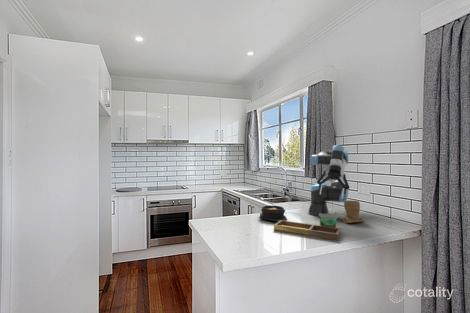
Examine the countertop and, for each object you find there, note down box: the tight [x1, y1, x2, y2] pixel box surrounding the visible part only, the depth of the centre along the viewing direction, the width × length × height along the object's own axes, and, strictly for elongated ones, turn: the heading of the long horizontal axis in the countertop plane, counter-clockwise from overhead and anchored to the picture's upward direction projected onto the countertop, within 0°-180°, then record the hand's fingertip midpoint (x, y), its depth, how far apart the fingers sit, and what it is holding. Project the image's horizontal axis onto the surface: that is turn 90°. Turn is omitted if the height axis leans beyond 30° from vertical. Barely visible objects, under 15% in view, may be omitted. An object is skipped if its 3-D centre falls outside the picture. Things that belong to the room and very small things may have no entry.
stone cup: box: [341, 199, 365, 224], centre depth 174 cm, size 15×12×15 cm
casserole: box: [259, 205, 288, 222], centre depth 178 cm, size 25×19×8 cm
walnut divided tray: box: [273, 220, 341, 242], centre depth 148 cm, size 13×36×4 cm, turn 62°
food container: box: [318, 211, 339, 228], centre depth 154 cm, size 12×6×10 cm, turn 105°
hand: (331, 196), depth 165 cm, fingers open, 13 cm apart
